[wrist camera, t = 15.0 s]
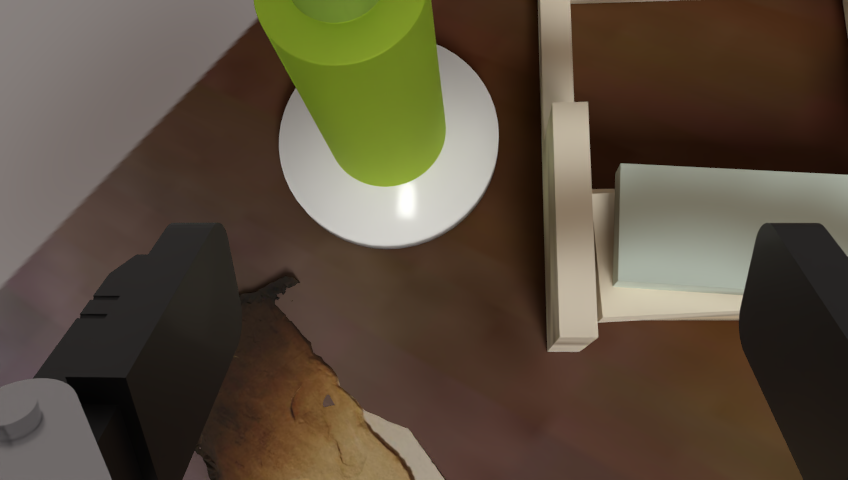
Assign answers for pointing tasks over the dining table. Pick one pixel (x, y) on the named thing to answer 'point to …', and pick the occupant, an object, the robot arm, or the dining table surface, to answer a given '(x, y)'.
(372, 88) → the soap dispenser
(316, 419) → the parchment
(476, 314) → the dining table surface
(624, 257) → the offcut rack
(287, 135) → the ceramic trivet
